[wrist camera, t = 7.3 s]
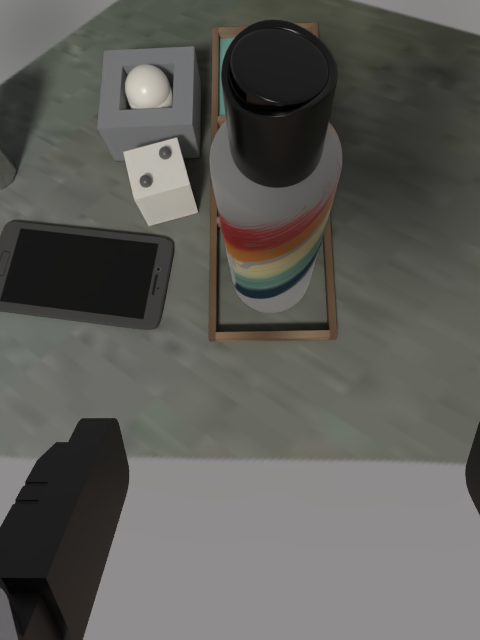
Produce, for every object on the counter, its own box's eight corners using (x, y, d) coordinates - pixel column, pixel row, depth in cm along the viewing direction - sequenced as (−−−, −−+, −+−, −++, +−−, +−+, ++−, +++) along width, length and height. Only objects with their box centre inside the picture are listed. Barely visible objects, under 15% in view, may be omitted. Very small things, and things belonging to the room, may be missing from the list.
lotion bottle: (220, 261, 34) (161, 25, 14) (288, 231, 34) (319, -38, 15) (252, 327, 32) (233, 164, 13) (322, 295, 33) (406, 89, 13)
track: (316, 30, 39) (317, 22, 38) (335, 339, 32) (337, 336, 31) (213, 36, 39) (212, 27, 38) (209, 341, 32) (208, 339, 31)
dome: (178, 99, 37) (166, 52, 32) (177, 134, 36) (164, 90, 32) (138, 101, 37) (120, 54, 33) (135, 136, 36) (117, 93, 32)
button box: (201, 86, 38) (194, 46, 34) (199, 157, 36) (192, 124, 32) (120, 89, 38) (104, 50, 34) (115, 161, 37) (97, 128, 33)
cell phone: (9, 223, 36) (4, 219, 35) (177, 242, 35) (175, 237, 34) (-16, 310, 34) (-23, 307, 34) (160, 332, 33) (157, 330, 32)
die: (186, 169, 36) (175, 132, 32) (198, 212, 35) (188, 180, 31) (138, 182, 36) (120, 147, 31) (148, 226, 35) (132, 195, 30)
